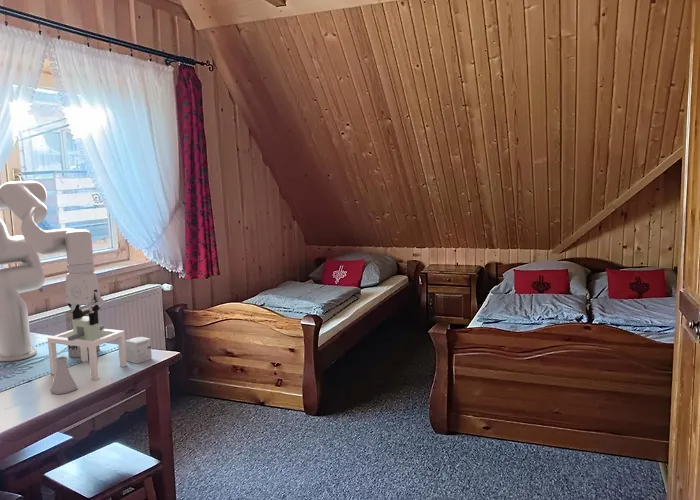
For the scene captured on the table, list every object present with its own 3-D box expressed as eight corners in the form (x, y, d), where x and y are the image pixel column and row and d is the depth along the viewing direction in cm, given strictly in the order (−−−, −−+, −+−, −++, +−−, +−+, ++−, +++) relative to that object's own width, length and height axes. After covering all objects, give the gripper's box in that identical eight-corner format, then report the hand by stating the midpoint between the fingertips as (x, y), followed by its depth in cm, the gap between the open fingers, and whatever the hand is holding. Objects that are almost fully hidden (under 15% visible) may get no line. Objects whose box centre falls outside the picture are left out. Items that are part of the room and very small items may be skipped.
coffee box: (84, 357, 196) (80, 312, 194) (68, 356, 198) (64, 312, 195) (100, 349, 205) (97, 306, 203) (85, 348, 207) (81, 305, 204)
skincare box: (137, 364, 189) (135, 343, 188) (125, 361, 192) (124, 340, 191) (152, 358, 194) (150, 338, 193) (140, 355, 198) (139, 335, 196)
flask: (70, 383, 172) (68, 352, 171) (81, 389, 168) (79, 357, 166) (46, 391, 167) (43, 358, 166) (56, 397, 162) (53, 363, 161)
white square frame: (50, 374, 181) (47, 334, 179) (84, 360, 194) (81, 322, 192) (95, 380, 175) (91, 339, 173) (126, 365, 188) (124, 327, 186)
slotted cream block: (74, 344, 182) (72, 320, 180) (86, 339, 186) (84, 316, 185) (89, 345, 179) (86, 321, 178) (100, 341, 184) (98, 317, 183)
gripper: (50, 269, 179) (56, 324, 181) (93, 271, 173) (98, 328, 176) (69, 265, 186) (74, 318, 188) (111, 267, 180) (115, 322, 183)
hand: (86, 322), depth 182 cm, fingers closed on slotted cream block, 5 cm apart
